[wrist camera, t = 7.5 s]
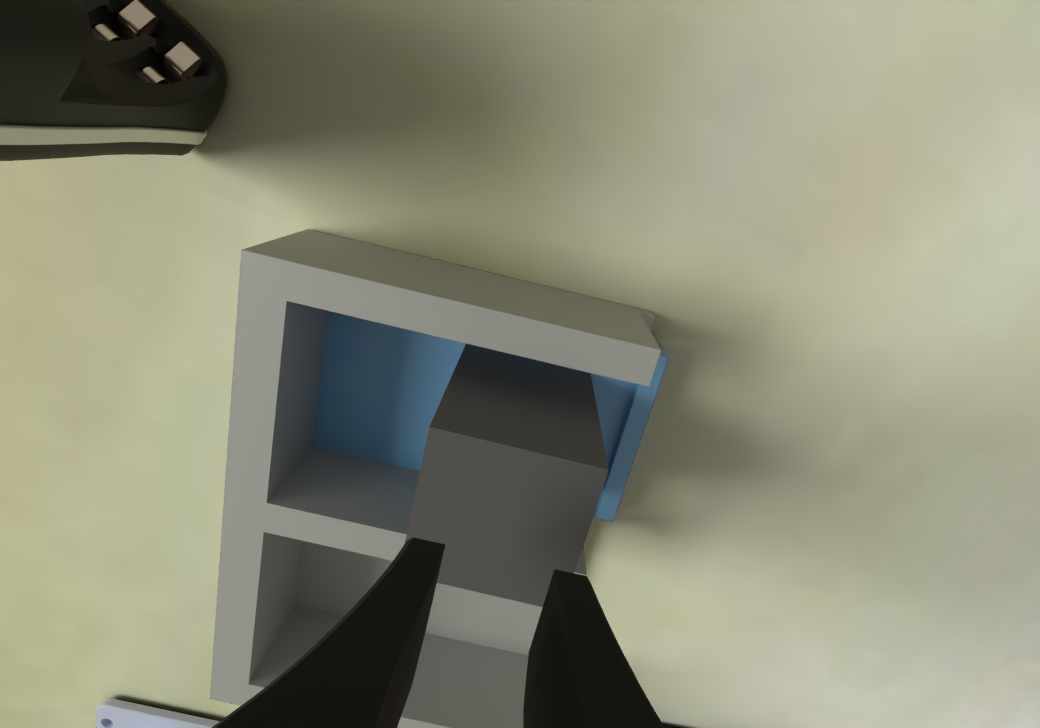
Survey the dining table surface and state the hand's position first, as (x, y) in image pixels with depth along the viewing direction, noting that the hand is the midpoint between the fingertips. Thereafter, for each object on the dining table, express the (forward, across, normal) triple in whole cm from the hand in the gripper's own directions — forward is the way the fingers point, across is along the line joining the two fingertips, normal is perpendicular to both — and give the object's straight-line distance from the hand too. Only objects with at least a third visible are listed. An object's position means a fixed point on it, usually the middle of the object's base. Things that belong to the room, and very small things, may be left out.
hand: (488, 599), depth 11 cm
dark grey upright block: (+9, 0, 0) cm, 9 cm away
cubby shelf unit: (+9, +2, +4) cm, 10 cm away
